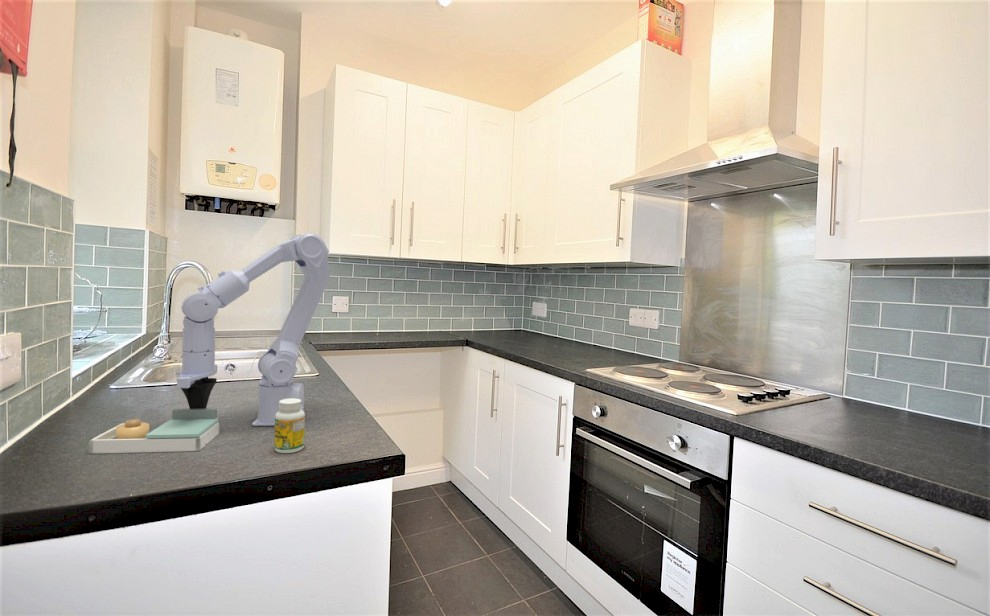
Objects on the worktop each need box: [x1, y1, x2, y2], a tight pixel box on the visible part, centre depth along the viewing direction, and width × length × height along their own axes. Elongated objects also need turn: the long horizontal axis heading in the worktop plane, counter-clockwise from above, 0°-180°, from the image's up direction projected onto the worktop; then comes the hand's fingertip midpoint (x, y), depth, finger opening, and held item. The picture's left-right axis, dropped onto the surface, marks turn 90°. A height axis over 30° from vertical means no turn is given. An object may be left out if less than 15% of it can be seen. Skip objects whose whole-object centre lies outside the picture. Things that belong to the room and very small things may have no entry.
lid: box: [145, 407, 220, 438], centre depth 91 cm, size 9×10×3 cm
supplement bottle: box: [274, 398, 306, 454], centre depth 90 cm, size 5×5×10 cm
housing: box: [88, 421, 221, 454], centre depth 90 cm, size 18×10×2 cm, turn 102°
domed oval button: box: [115, 418, 150, 439], centre depth 89 cm, size 5×5×4 cm
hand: (198, 414), depth 97 cm, fingers closed
